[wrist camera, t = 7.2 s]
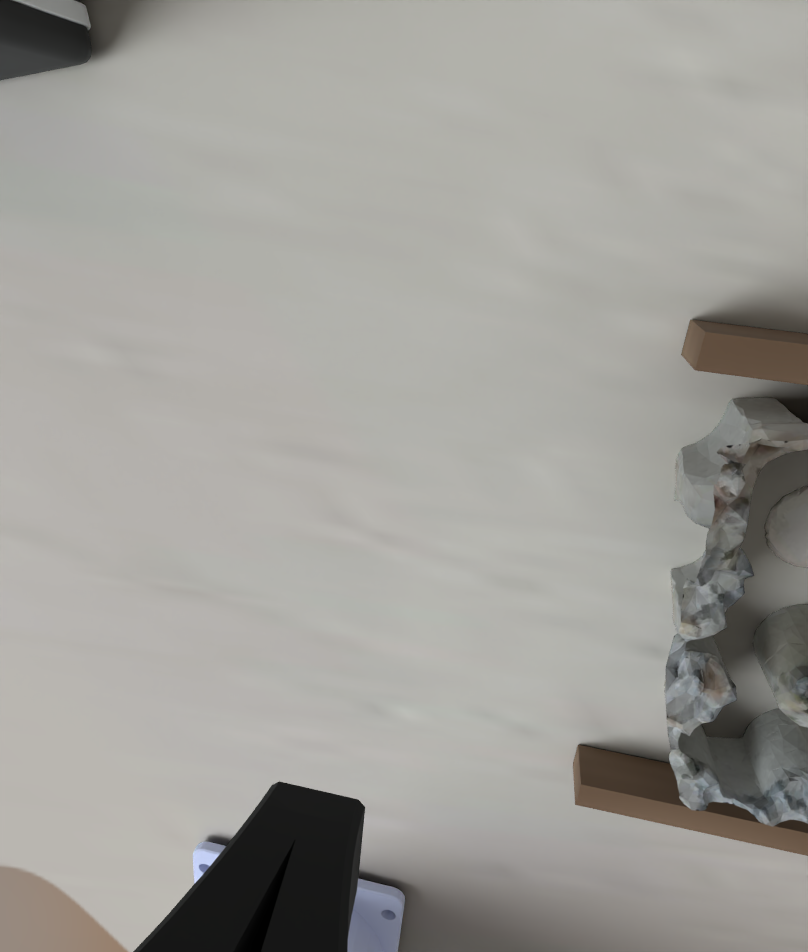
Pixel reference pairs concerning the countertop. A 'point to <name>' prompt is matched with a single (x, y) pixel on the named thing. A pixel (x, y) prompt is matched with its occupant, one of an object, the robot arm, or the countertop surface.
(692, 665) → the egg carton
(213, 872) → the robot arm
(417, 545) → the countertop surface
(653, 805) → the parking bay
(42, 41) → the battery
